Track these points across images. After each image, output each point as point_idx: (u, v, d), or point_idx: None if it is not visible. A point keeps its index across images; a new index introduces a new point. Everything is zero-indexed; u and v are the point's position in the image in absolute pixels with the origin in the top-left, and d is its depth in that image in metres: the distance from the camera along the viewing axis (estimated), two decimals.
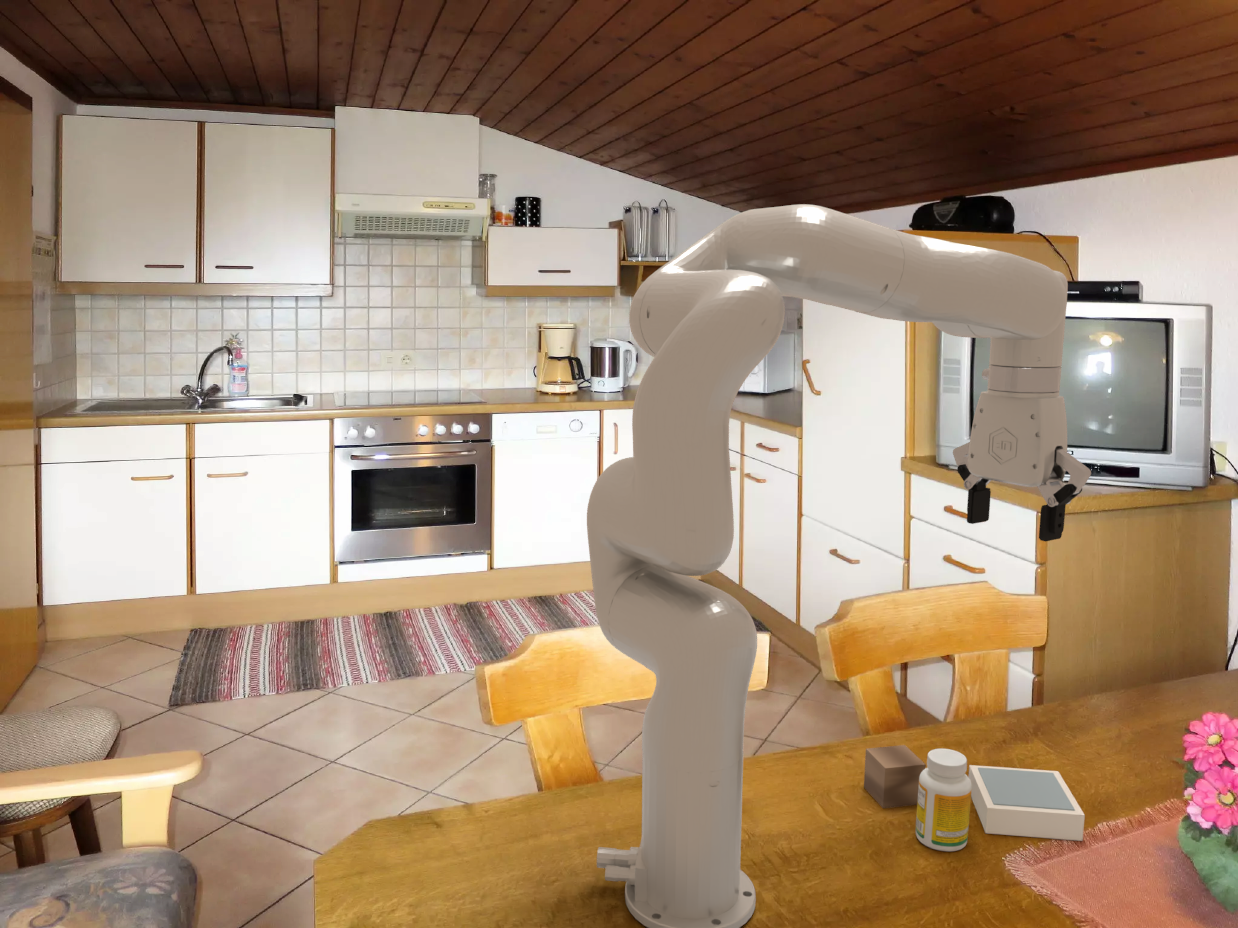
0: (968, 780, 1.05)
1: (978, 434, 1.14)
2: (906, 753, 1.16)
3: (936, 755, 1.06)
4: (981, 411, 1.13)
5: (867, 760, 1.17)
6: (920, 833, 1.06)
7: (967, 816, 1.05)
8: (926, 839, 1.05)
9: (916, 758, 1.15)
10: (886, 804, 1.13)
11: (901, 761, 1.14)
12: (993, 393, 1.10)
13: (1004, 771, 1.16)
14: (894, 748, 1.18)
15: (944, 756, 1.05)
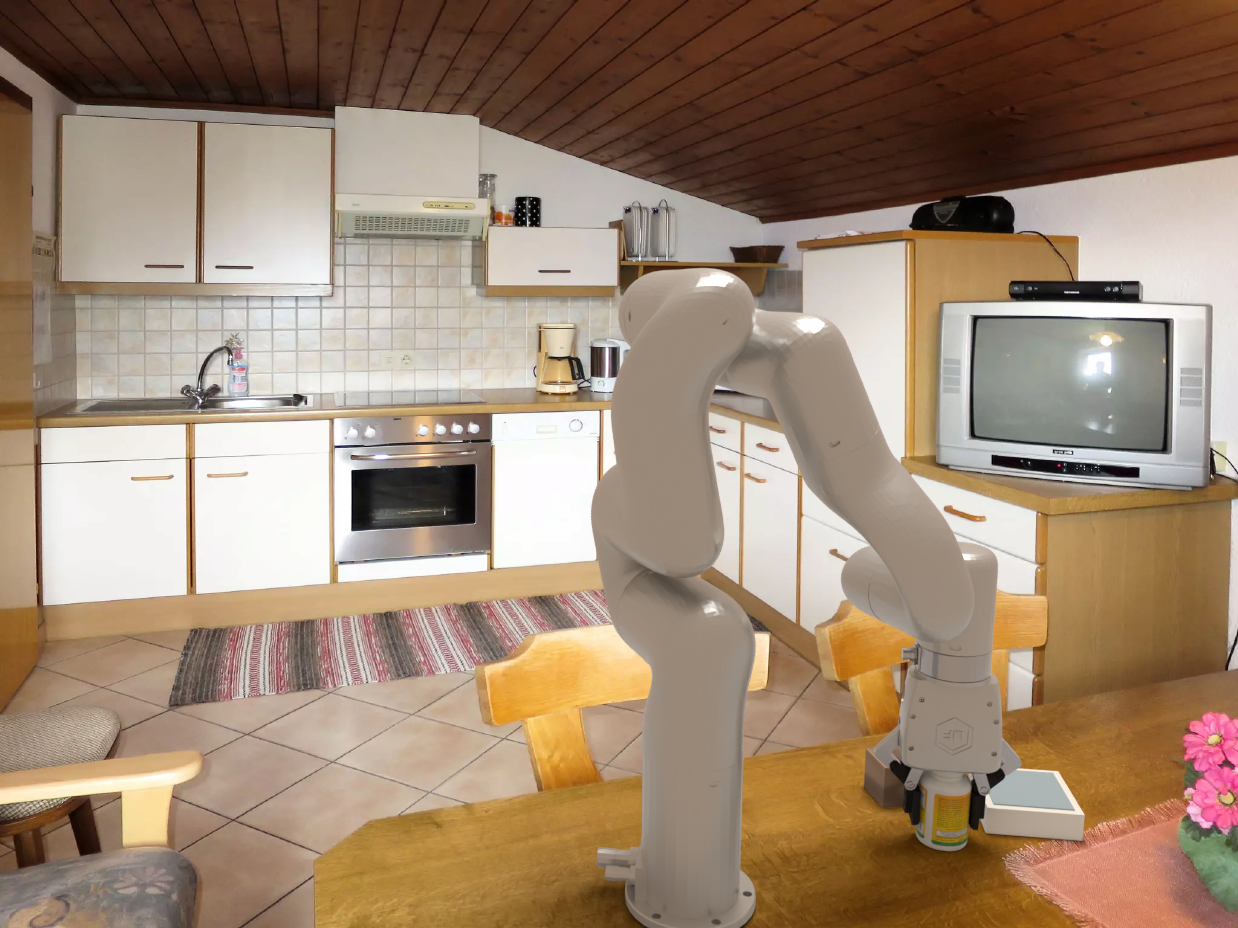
0: (968, 780, 1.05)
1: (919, 725, 1.03)
2: None
3: None
4: (921, 700, 1.02)
5: (867, 760, 1.17)
6: (920, 833, 1.06)
7: (967, 816, 1.05)
8: (927, 839, 1.05)
9: None
10: (886, 804, 1.13)
11: None
12: (946, 684, 1.00)
13: None
14: None
15: None
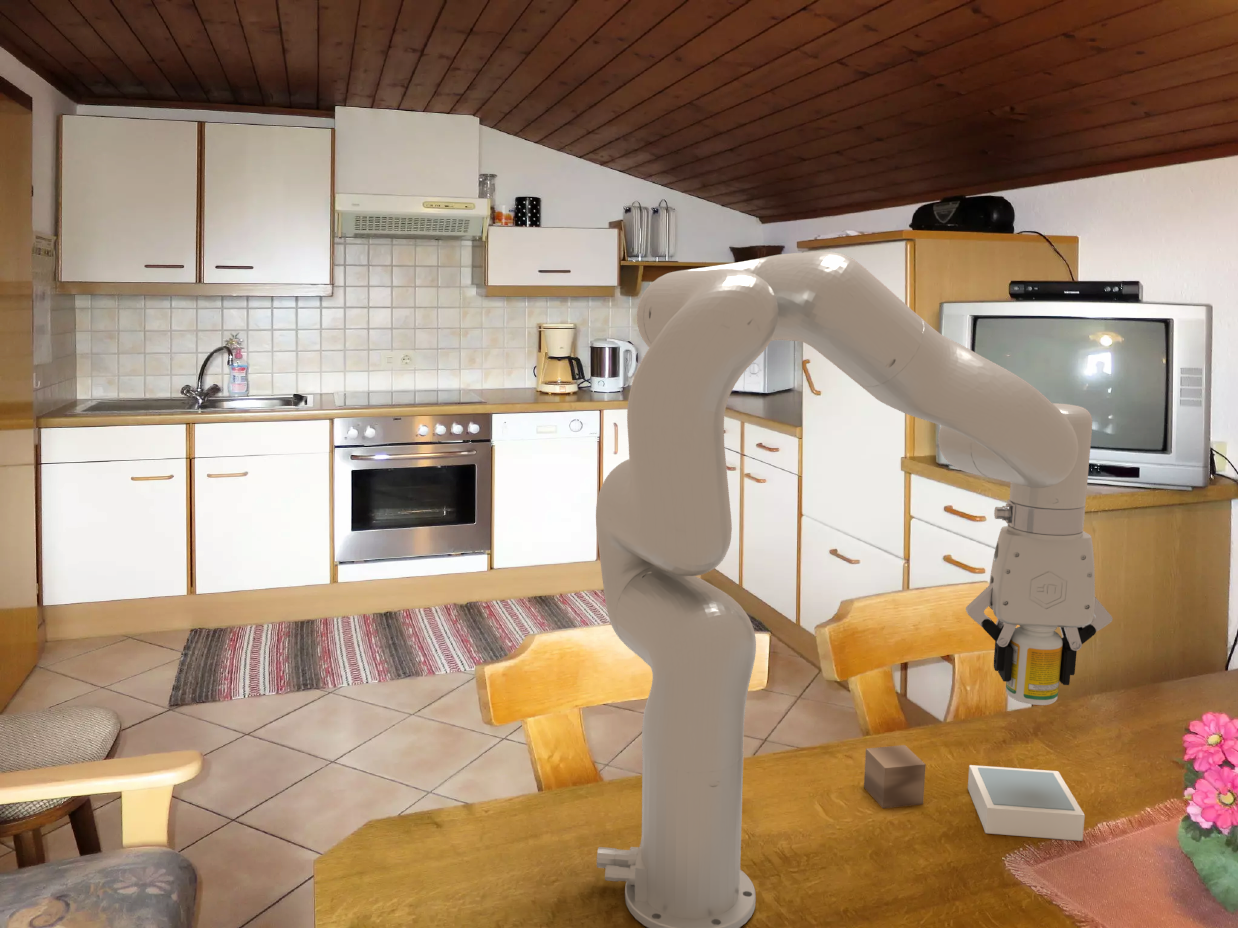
0: (1059, 636, 1.08)
1: (1013, 580, 1.05)
2: (906, 753, 1.16)
3: None
4: (1016, 555, 1.05)
5: (867, 760, 1.17)
6: (1012, 689, 1.09)
7: (1058, 671, 1.08)
8: (1019, 694, 1.08)
9: (916, 758, 1.15)
10: (886, 804, 1.13)
11: (901, 761, 1.14)
12: (1042, 537, 1.03)
13: (1004, 771, 1.16)
14: (894, 748, 1.18)
15: None
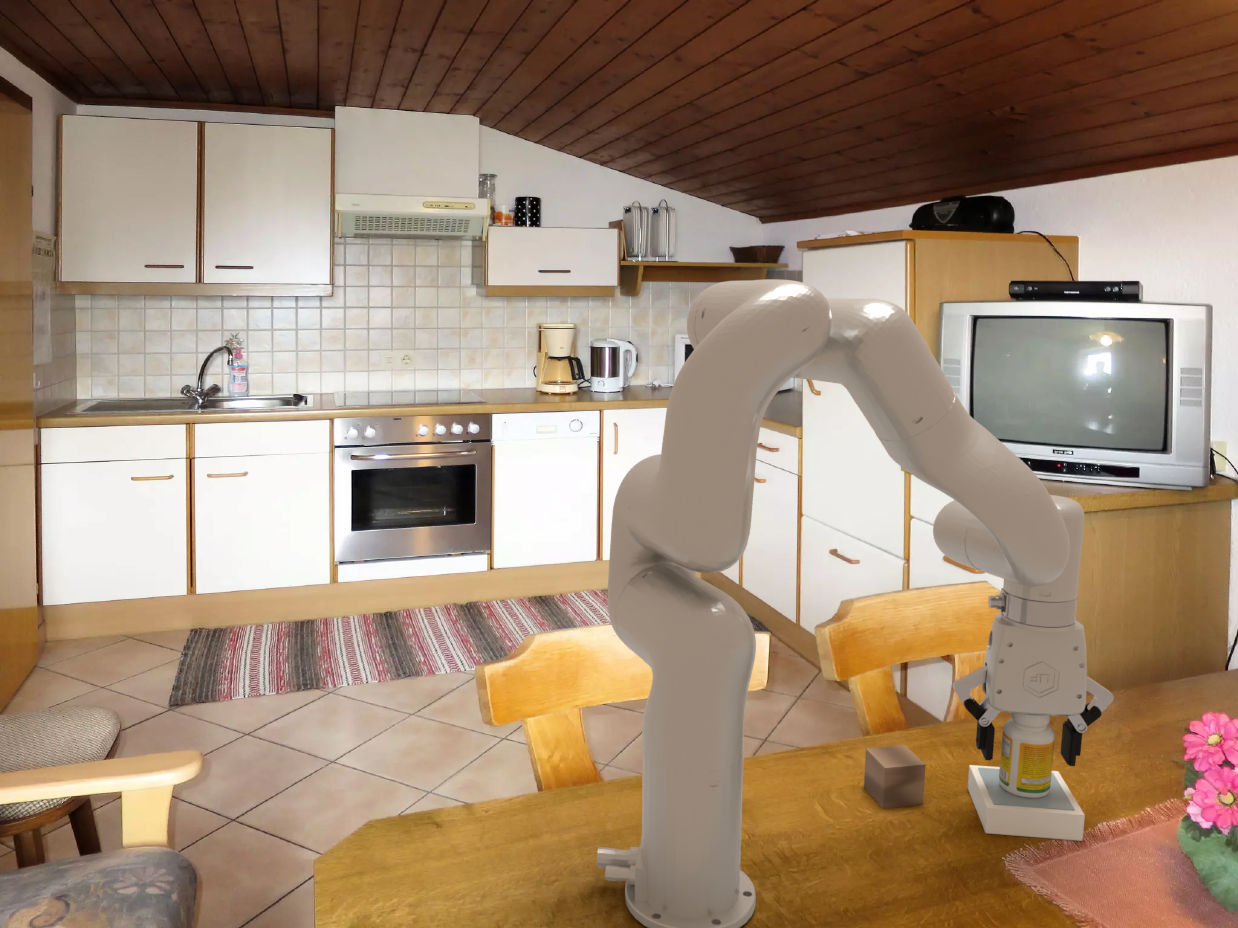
0: (1051, 730, 1.10)
1: (1007, 669, 1.07)
2: (906, 753, 1.16)
3: None
4: (1009, 645, 1.07)
5: (867, 760, 1.17)
6: (1005, 781, 1.11)
7: (1050, 764, 1.09)
8: (1011, 787, 1.10)
9: (915, 758, 1.15)
10: (886, 804, 1.13)
11: (901, 761, 1.14)
12: (1035, 629, 1.05)
13: None
14: (894, 748, 1.18)
15: None
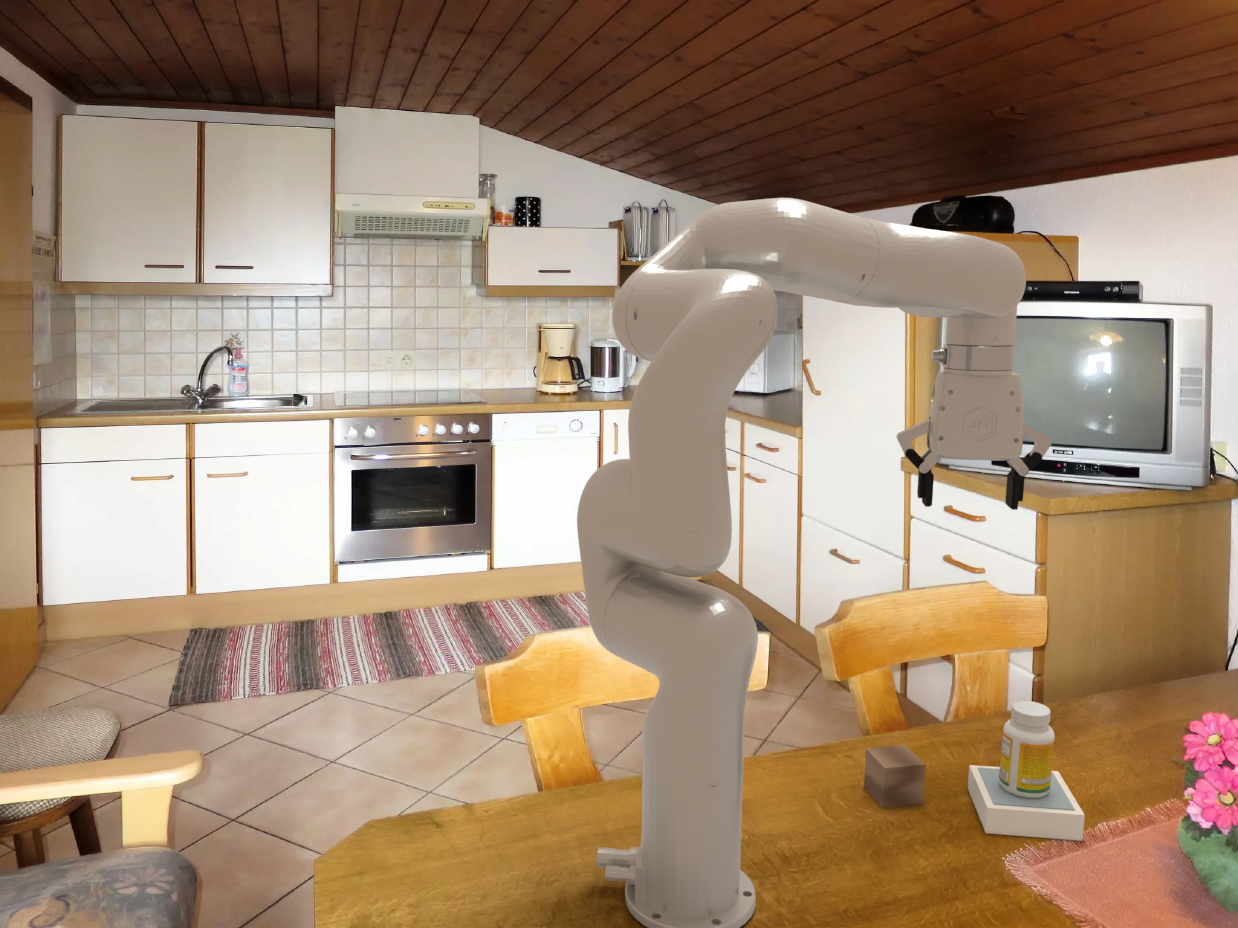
0: (1051, 730, 1.10)
1: (947, 416, 1.13)
2: (906, 753, 1.16)
3: (1020, 706, 1.10)
4: (950, 393, 1.13)
5: (867, 760, 1.17)
6: (1005, 781, 1.11)
7: (1051, 764, 1.09)
8: (1011, 787, 1.10)
9: (915, 758, 1.15)
10: (886, 804, 1.13)
11: (901, 761, 1.14)
12: (973, 373, 1.11)
13: None
14: (894, 748, 1.18)
15: (1028, 707, 1.10)
